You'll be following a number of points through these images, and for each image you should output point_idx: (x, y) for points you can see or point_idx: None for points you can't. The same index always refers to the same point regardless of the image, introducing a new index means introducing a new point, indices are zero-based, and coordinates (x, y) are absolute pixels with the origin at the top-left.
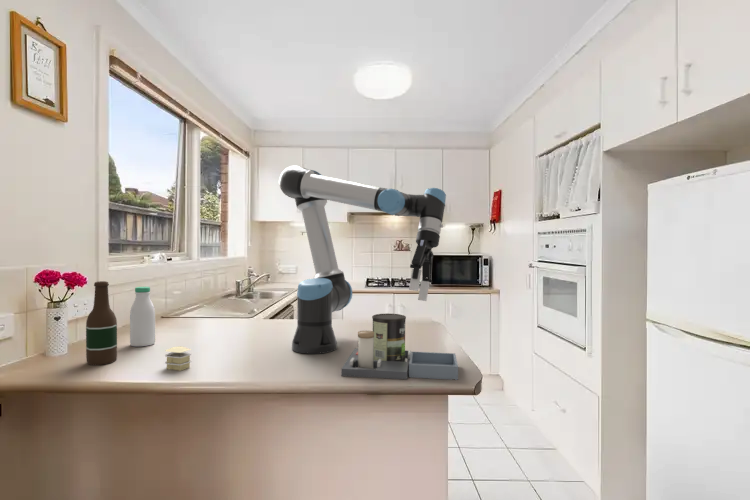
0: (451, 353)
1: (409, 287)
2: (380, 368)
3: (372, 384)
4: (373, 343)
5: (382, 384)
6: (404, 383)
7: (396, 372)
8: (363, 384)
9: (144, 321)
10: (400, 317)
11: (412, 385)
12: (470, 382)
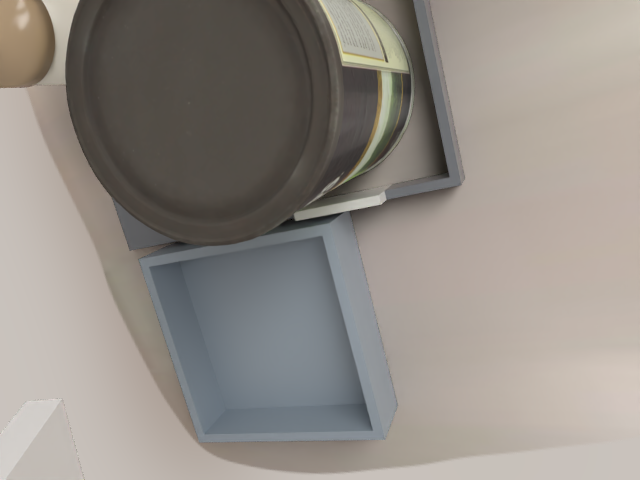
0: (376, 422)
1: (15, 421)
2: None
3: (53, 139)
4: (59, 84)
5: (69, 172)
6: (112, 242)
7: (119, 208)
8: (38, 108)
9: None
10: (208, 202)
11: (109, 272)
12: (221, 449)
